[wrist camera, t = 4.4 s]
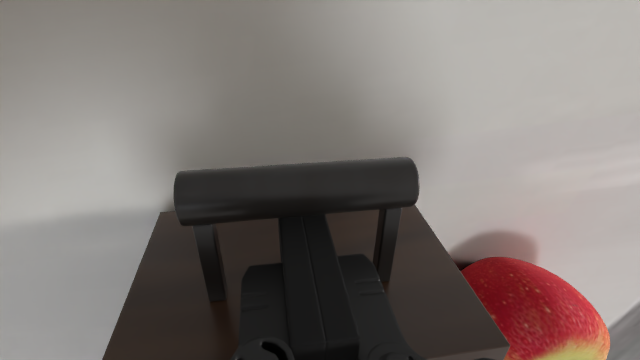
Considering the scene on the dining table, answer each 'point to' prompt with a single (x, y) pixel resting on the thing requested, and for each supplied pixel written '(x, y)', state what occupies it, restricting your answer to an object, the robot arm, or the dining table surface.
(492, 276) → the apple
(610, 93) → the dining table surface
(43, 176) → the dining table surface
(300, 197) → the drawer
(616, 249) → the dining table surface
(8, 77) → the dining table surface
